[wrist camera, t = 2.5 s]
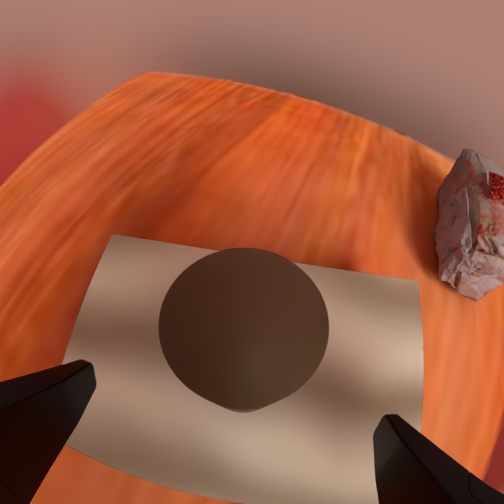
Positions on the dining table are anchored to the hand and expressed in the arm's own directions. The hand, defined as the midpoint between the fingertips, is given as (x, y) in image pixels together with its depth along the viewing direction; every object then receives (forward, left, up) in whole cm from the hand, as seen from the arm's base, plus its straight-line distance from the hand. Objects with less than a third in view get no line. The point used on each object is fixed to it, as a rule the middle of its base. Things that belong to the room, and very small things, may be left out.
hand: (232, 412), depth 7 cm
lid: (+1, -1, -6) cm, 6 cm away
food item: (0, -26, -11) cm, 28 cm away
